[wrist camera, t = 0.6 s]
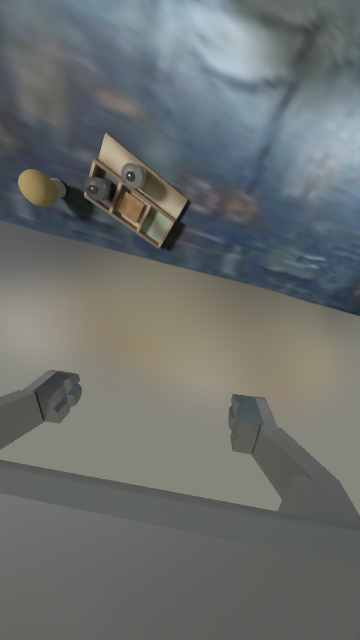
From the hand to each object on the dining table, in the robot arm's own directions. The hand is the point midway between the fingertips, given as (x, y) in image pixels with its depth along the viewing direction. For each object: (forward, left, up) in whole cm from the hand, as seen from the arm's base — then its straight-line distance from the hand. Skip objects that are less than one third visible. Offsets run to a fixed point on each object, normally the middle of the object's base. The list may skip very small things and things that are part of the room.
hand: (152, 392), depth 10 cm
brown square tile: (+5, -15, -44) cm, 47 cm away
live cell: (-1, -16, -44) cm, 47 cm away
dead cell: (+5, -22, -44) cm, 49 cm away
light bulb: (+12, -32, -46) cm, 57 cm away
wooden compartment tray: (+3, -15, -45) cm, 48 cm away
